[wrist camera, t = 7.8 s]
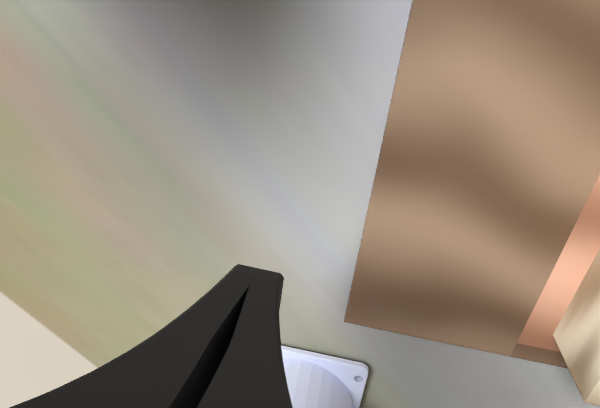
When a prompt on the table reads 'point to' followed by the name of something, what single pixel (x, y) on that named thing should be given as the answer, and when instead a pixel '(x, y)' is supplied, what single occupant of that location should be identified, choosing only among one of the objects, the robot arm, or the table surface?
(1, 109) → the table surface
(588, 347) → the t block
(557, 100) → the brown rectangular board
